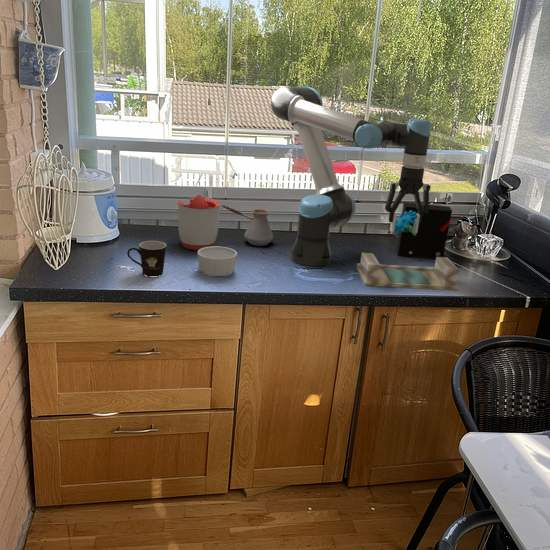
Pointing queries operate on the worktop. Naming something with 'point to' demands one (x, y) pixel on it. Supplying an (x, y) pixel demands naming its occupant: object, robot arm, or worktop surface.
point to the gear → (405, 222)
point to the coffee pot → (256, 227)
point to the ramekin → (217, 260)
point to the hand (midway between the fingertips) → (403, 231)
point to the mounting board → (408, 274)
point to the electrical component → (425, 233)
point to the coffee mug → (151, 257)
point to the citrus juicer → (198, 222)
